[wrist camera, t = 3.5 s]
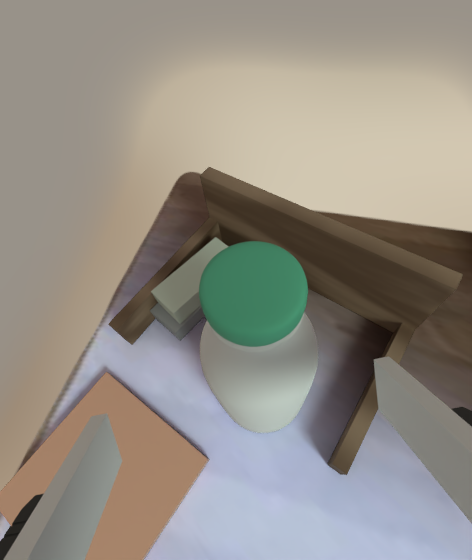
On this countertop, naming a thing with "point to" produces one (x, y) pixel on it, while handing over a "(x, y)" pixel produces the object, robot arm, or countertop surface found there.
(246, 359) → the milk bottle
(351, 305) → the frame
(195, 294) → the offcut upper
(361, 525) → the countertop surface
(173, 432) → the tile pad
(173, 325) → the offcut lower
